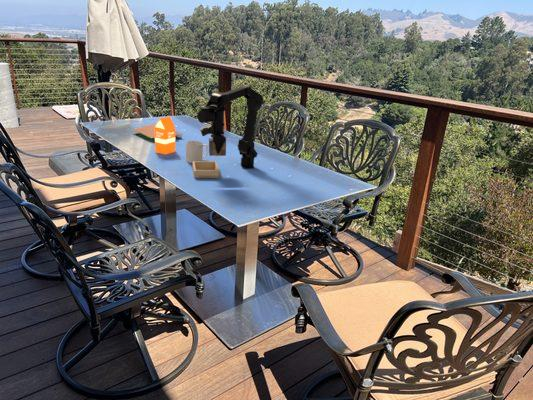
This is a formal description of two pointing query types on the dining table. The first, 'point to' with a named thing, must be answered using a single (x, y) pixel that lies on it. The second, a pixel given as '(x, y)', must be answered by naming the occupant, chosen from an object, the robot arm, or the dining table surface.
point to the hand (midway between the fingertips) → (217, 151)
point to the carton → (206, 169)
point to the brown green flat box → (150, 131)
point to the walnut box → (213, 149)
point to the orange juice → (165, 136)
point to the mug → (195, 151)
